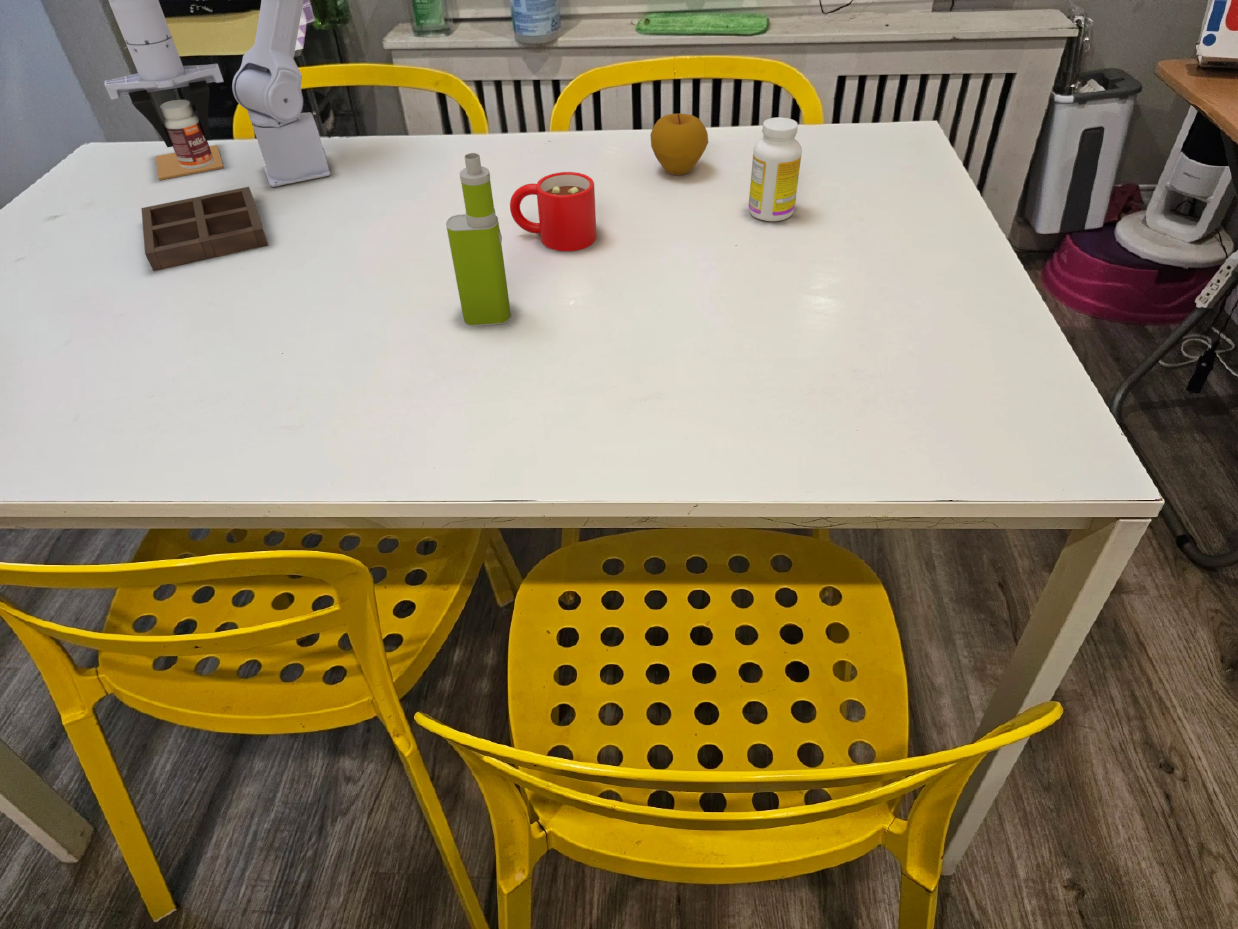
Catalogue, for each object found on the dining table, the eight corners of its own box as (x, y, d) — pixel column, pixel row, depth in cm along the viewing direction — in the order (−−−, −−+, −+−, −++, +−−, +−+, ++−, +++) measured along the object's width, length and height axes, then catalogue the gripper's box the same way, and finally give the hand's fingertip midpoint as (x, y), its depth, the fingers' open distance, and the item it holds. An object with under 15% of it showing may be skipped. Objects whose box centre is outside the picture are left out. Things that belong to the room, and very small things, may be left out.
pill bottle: (203, 170, 115) (180, 111, 109) (173, 168, 116) (149, 109, 110) (221, 157, 118) (199, 98, 113) (192, 155, 119) (169, 97, 113)
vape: (512, 323, 97) (490, 161, 83) (462, 326, 96) (432, 165, 83) (512, 306, 99) (491, 147, 86) (464, 309, 99) (435, 151, 85)
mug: (518, 223, 116) (511, 170, 110) (599, 224, 115) (597, 171, 109) (507, 249, 110) (500, 195, 105) (593, 251, 109) (590, 197, 104)
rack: (254, 202, 122) (248, 186, 121) (268, 245, 112) (262, 228, 111) (148, 224, 118) (141, 207, 116) (153, 270, 108) (144, 253, 106)
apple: (703, 158, 131) (706, 102, 124) (709, 182, 124) (713, 123, 118) (648, 160, 130) (648, 104, 124) (652, 184, 124) (652, 125, 118)
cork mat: (218, 146, 139) (217, 144, 138) (223, 168, 132) (223, 165, 132) (156, 158, 136) (155, 155, 135) (159, 180, 129) (158, 178, 129)
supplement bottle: (798, 206, 117) (811, 118, 108) (786, 226, 113) (798, 135, 104) (755, 199, 119) (764, 111, 111) (741, 218, 115) (749, 128, 106)
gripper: (88, 55, 101) (135, 161, 110) (209, 38, 105) (244, 141, 115) (88, 40, 105) (133, 143, 115) (204, 24, 110) (238, 124, 119)
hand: (188, 141), depth 115 cm, fingers closed on pill bottle, 5 cm apart
